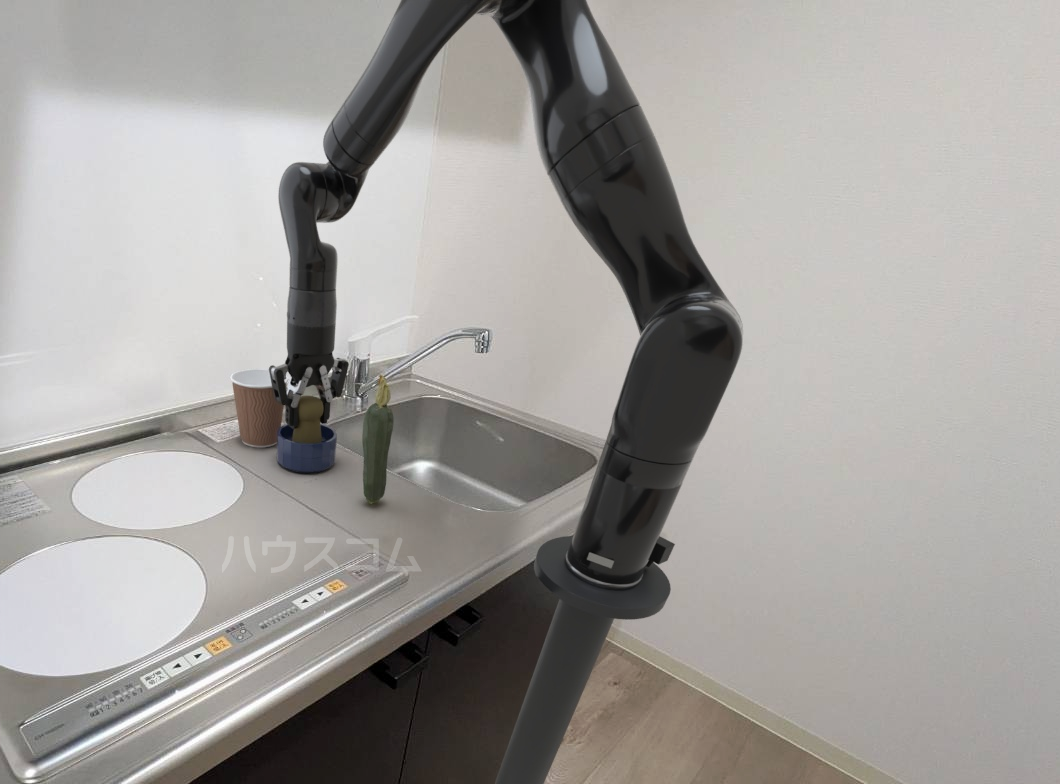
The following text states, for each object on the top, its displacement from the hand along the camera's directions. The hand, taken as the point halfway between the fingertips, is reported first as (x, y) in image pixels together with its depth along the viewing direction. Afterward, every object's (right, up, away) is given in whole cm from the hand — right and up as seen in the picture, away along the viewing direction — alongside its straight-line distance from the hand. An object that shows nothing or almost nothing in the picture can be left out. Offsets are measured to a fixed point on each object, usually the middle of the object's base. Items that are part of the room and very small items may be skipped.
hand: (307, 424), depth 99 cm
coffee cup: (-9, -1, +11) cm, 14 cm away
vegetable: (+10, -15, -8) cm, 19 cm away
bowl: (0, -6, +4) cm, 7 cm away
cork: (0, -5, +4) cm, 7 cm away
